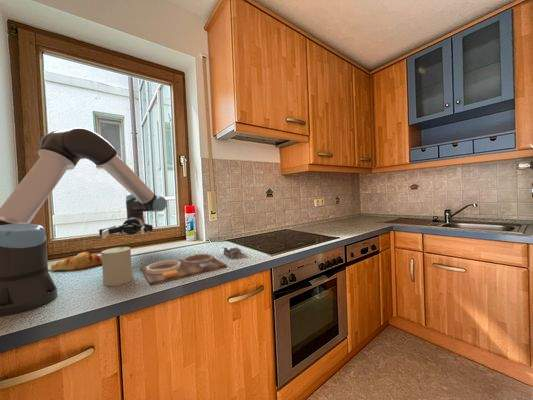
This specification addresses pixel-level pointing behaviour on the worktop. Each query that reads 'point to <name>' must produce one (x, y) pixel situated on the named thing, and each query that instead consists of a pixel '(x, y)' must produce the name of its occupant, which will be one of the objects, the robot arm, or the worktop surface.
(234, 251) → the egg carton
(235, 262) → the worktop surface
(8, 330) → the worktop surface
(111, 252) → the can
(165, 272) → the ring
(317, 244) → the worktop surface
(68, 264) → the croissant
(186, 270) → the walnut board
